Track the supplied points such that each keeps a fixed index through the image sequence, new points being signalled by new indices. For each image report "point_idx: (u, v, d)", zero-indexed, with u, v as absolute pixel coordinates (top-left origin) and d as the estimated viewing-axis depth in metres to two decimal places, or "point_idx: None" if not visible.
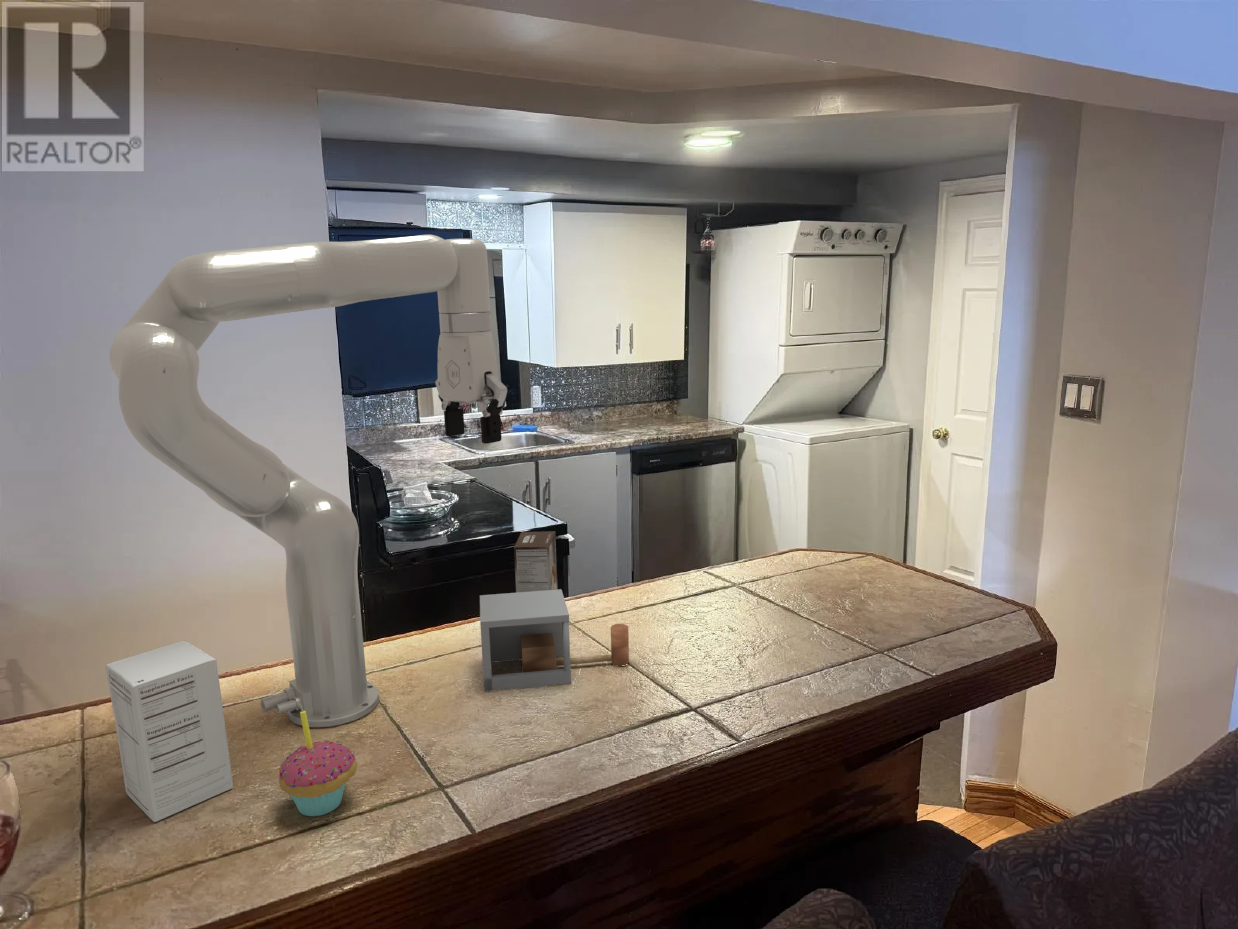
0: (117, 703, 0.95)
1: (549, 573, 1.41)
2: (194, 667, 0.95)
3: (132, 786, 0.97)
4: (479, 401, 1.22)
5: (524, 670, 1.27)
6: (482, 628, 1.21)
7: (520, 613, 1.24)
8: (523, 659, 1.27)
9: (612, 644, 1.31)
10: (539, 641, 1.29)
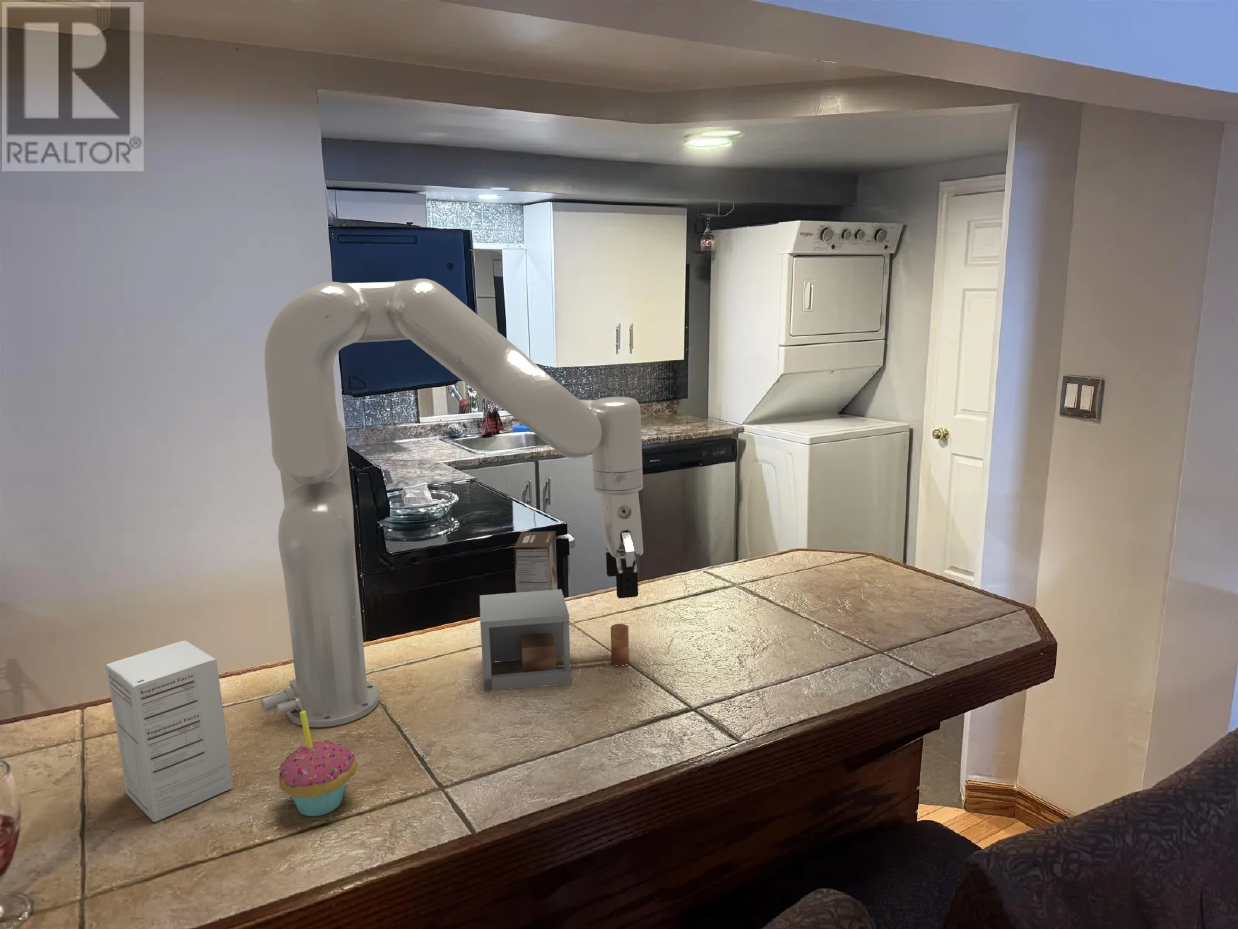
0: (117, 703, 0.95)
1: (549, 573, 1.41)
2: (194, 667, 0.95)
3: (132, 786, 0.97)
4: None
5: (524, 670, 1.27)
6: (482, 628, 1.21)
7: (520, 613, 1.24)
8: (523, 659, 1.27)
9: (612, 644, 1.31)
10: (539, 641, 1.29)
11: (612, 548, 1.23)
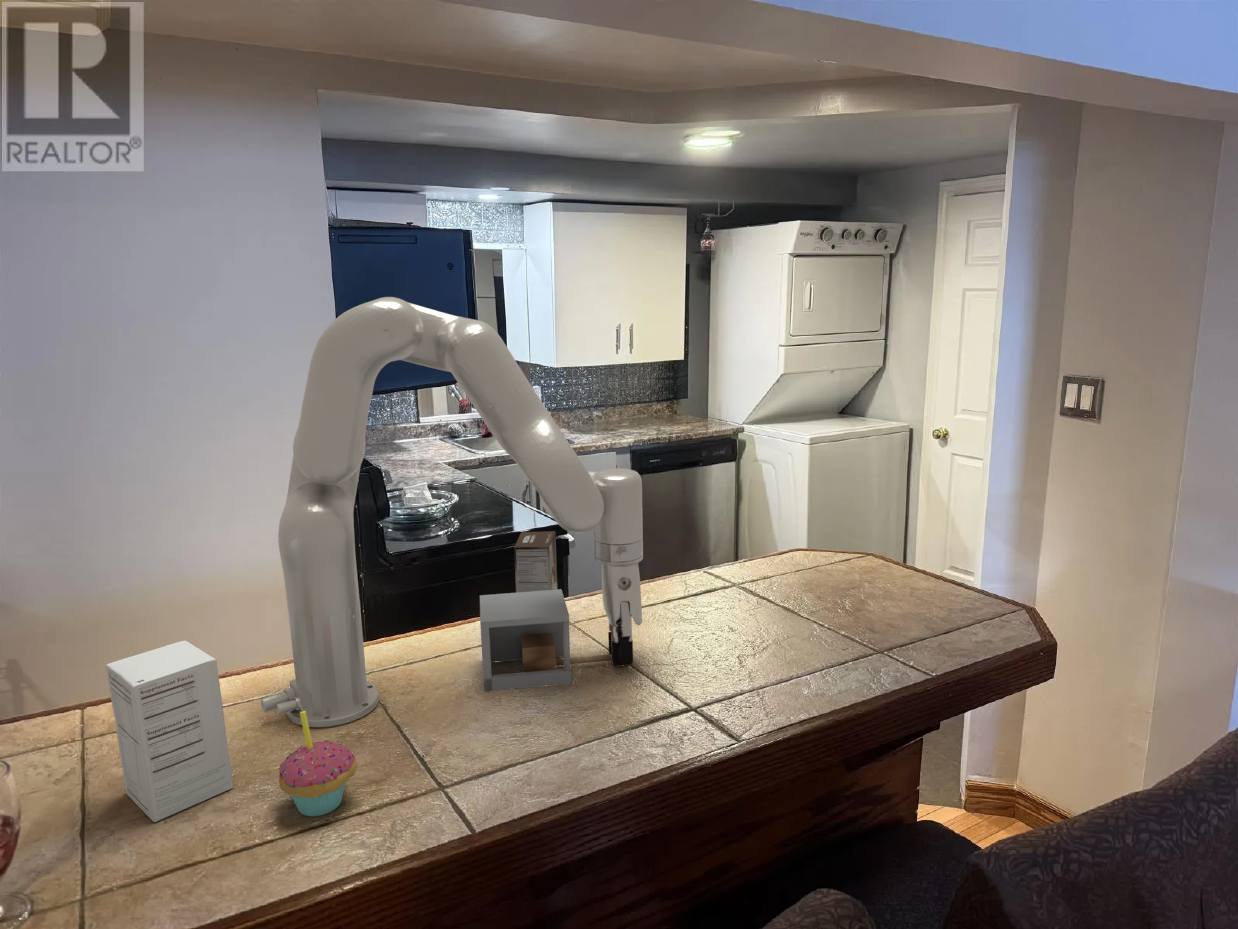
0: (117, 703, 0.95)
1: (549, 573, 1.41)
2: (194, 667, 0.95)
3: (132, 786, 0.97)
4: None
5: (524, 670, 1.27)
6: (482, 628, 1.21)
7: (520, 613, 1.24)
8: (523, 659, 1.27)
9: None
10: (539, 641, 1.29)
11: (612, 618, 1.26)
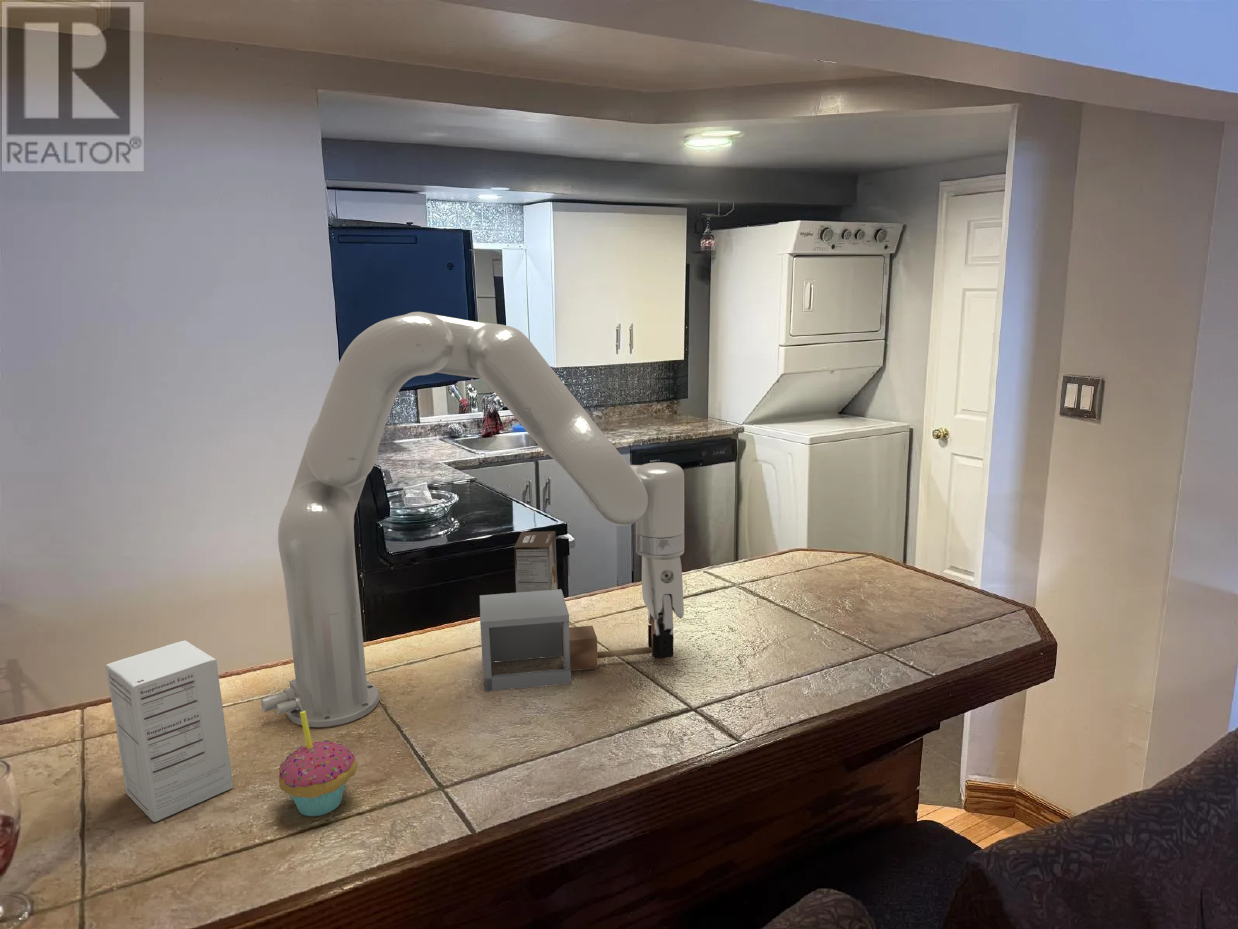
0: (117, 703, 0.95)
1: (549, 573, 1.41)
2: (194, 667, 0.95)
3: (132, 786, 0.97)
4: None
5: None
6: (482, 628, 1.21)
7: (520, 613, 1.24)
8: None
9: None
10: (580, 634, 1.29)
11: (654, 611, 1.26)
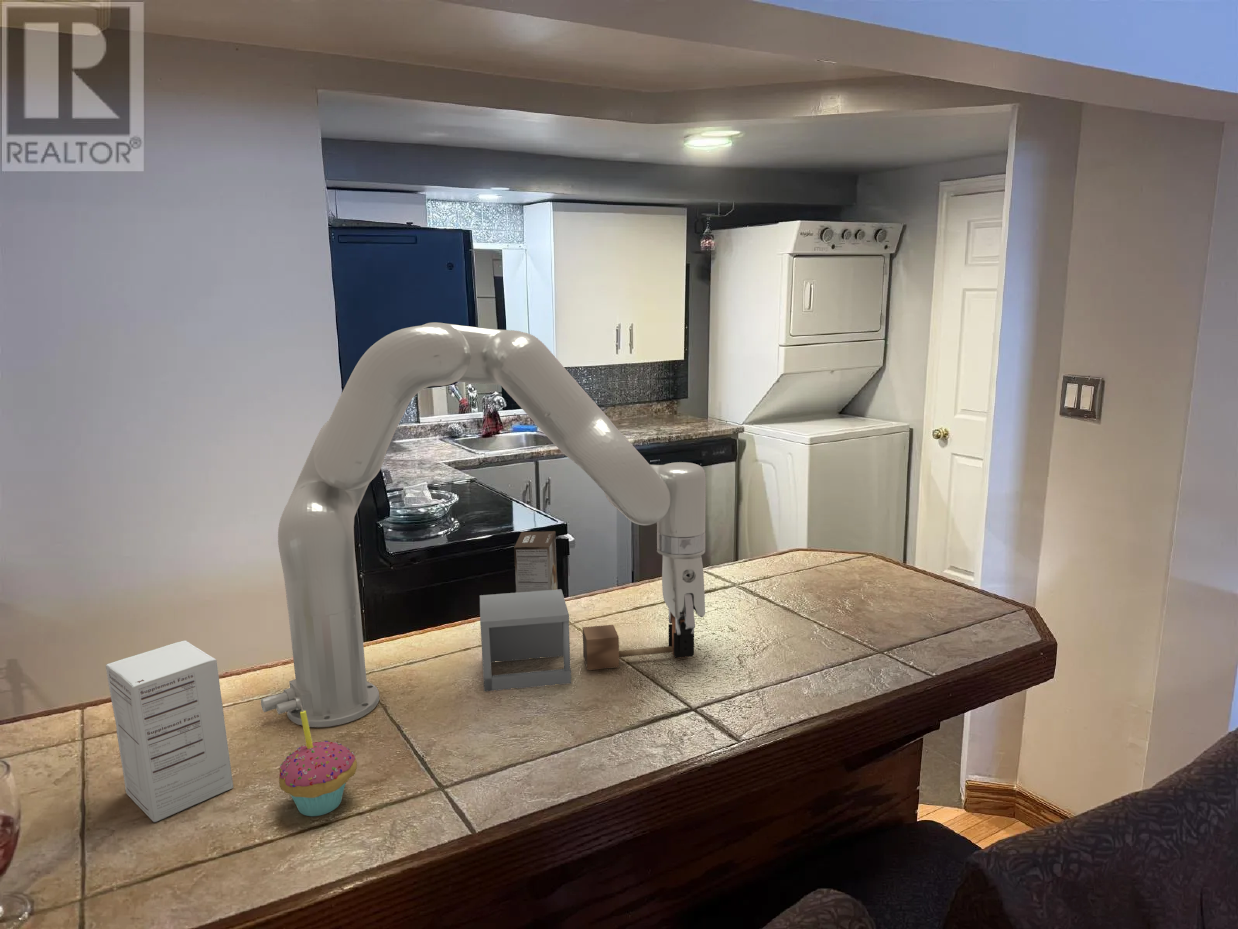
0: (117, 703, 0.95)
1: (549, 573, 1.41)
2: (194, 667, 0.95)
3: (132, 786, 0.97)
4: None
5: (588, 661, 1.29)
6: (482, 628, 1.21)
7: (520, 613, 1.24)
8: (588, 650, 1.28)
9: (673, 636, 1.32)
10: (602, 633, 1.30)
11: (675, 610, 1.27)
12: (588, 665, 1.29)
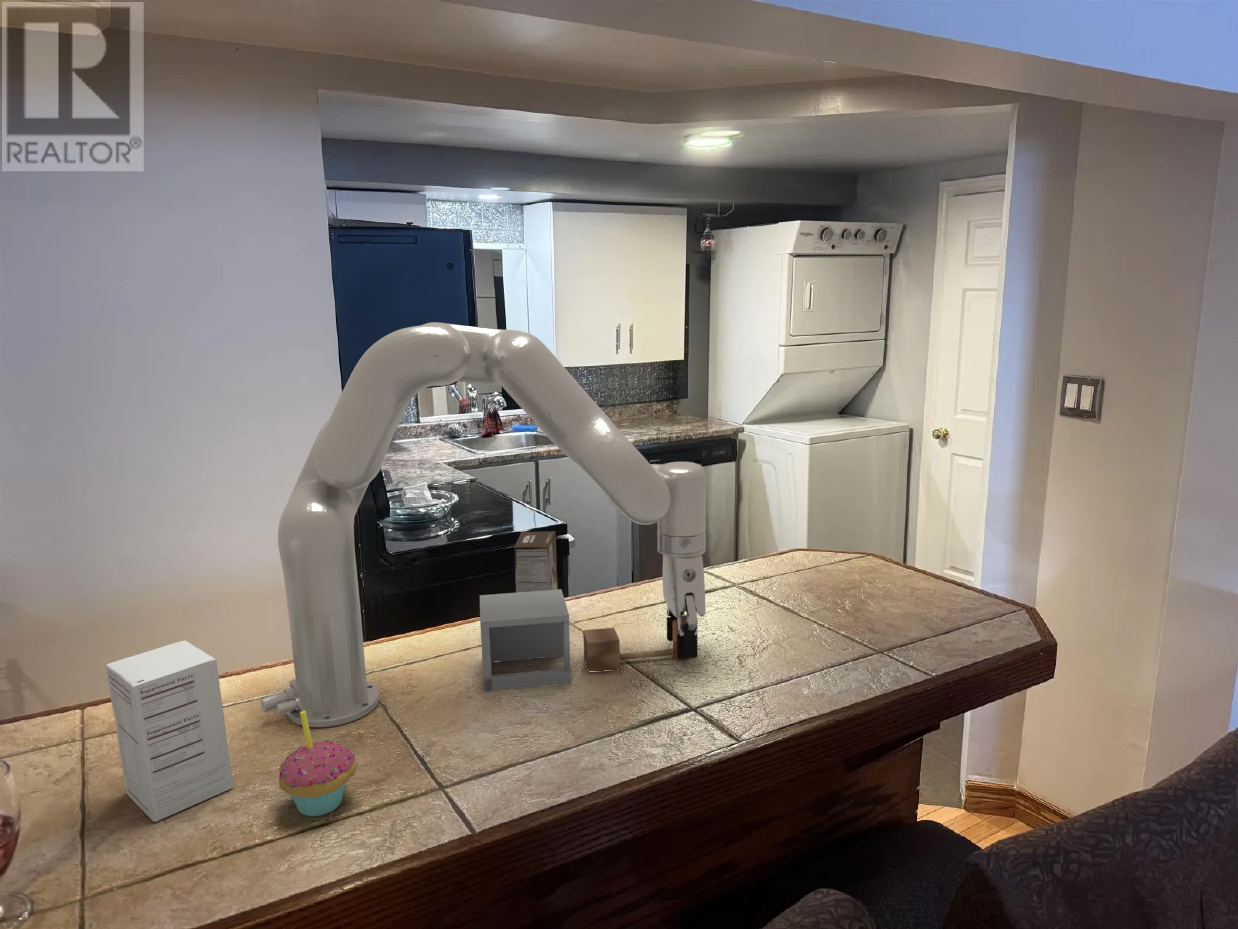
0: (117, 703, 0.96)
1: (549, 573, 1.41)
2: (194, 667, 0.95)
3: (132, 786, 0.97)
4: None
5: (589, 664, 1.29)
6: (482, 628, 1.21)
7: (520, 613, 1.24)
8: (588, 653, 1.28)
9: (674, 638, 1.32)
10: (603, 636, 1.30)
11: (676, 609, 1.27)
12: (589, 668, 1.29)
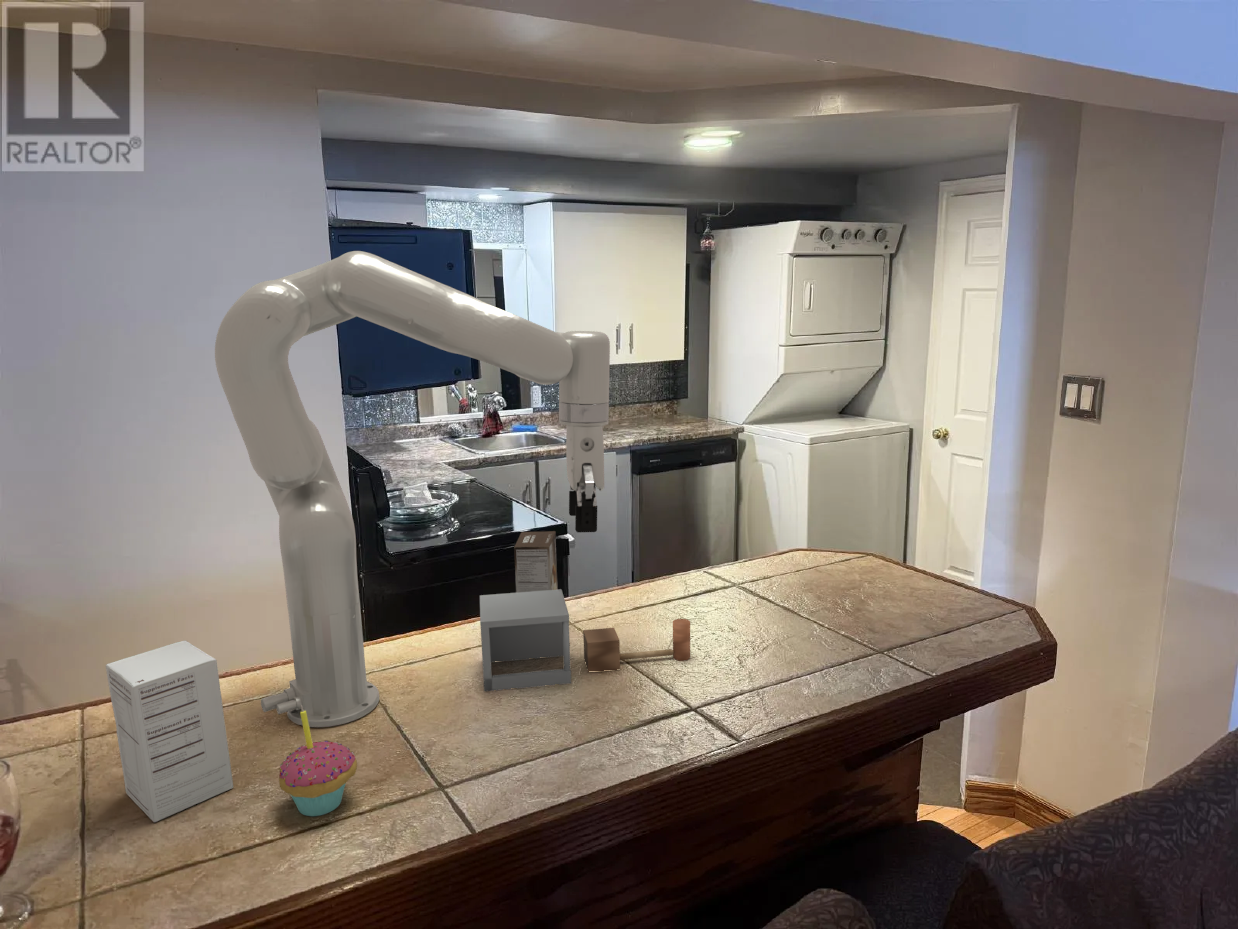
0: (117, 703, 0.95)
1: (549, 573, 1.41)
2: (194, 667, 0.95)
3: (132, 786, 0.97)
4: None
5: (589, 664, 1.29)
6: (482, 628, 1.21)
7: (520, 613, 1.24)
8: (588, 653, 1.28)
9: (674, 638, 1.32)
10: (603, 636, 1.30)
11: (573, 480, 1.23)
12: (589, 668, 1.29)
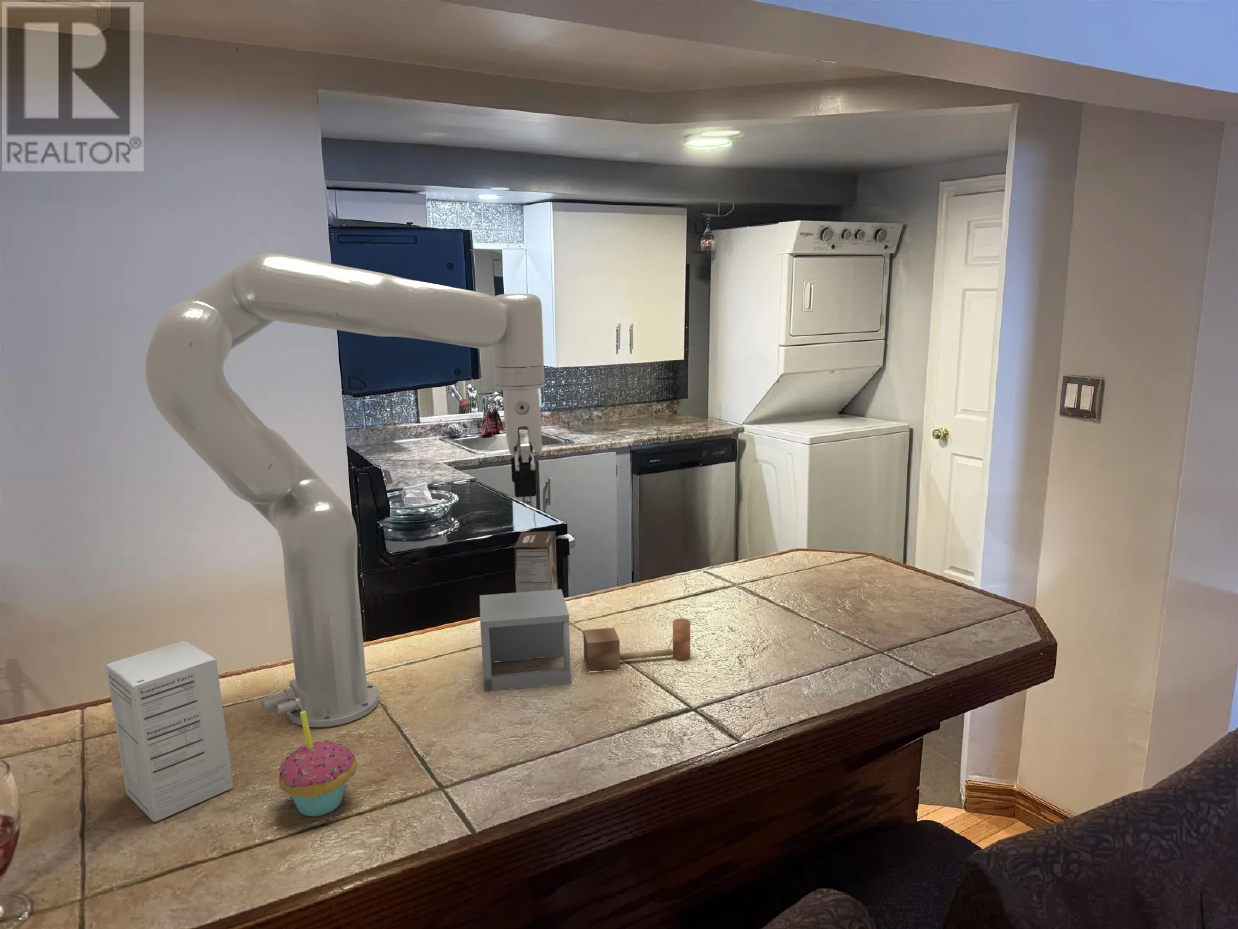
0: (117, 703, 0.95)
1: (549, 573, 1.41)
2: (194, 667, 0.95)
3: (132, 786, 0.97)
4: None
5: (589, 664, 1.29)
6: (482, 628, 1.21)
7: (520, 613, 1.24)
8: (588, 653, 1.28)
9: (674, 639, 1.32)
10: (603, 636, 1.30)
11: (510, 445, 1.22)
12: (589, 668, 1.29)
